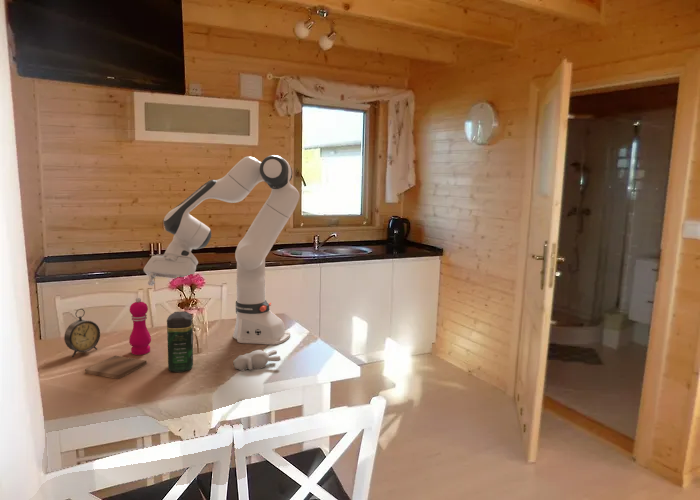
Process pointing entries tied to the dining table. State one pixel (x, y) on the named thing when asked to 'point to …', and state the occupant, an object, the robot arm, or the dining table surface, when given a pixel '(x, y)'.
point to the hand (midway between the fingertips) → (160, 285)
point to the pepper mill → (139, 329)
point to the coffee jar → (180, 341)
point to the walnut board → (116, 367)
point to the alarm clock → (82, 335)
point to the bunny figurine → (255, 360)
